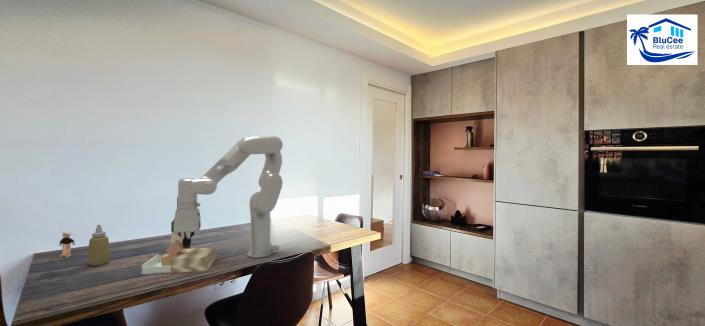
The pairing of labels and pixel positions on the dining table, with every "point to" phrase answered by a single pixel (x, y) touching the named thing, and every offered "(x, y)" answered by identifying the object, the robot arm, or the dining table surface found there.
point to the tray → (155, 266)
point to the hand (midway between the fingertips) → (186, 247)
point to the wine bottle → (174, 236)
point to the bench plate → (193, 260)
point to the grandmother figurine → (66, 244)
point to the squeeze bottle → (98, 248)
